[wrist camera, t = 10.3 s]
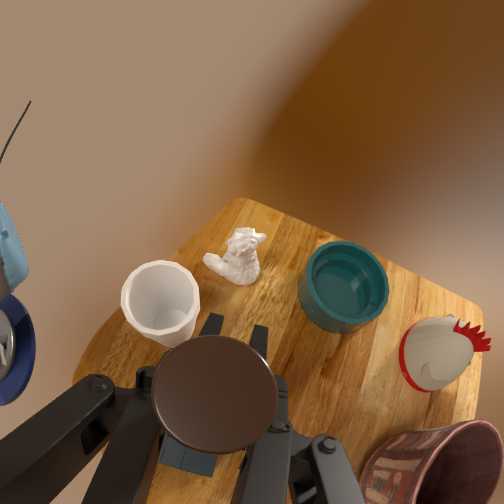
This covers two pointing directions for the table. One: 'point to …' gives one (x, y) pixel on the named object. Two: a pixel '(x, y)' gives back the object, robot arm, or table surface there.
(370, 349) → the table surface
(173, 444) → the holder
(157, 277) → the foam cup
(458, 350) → the kitchen timer
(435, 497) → the pottery
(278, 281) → the table surface
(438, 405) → the table surface
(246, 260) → the white creature statuette
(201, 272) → the table surface
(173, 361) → the brown rod
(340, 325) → the bowl
